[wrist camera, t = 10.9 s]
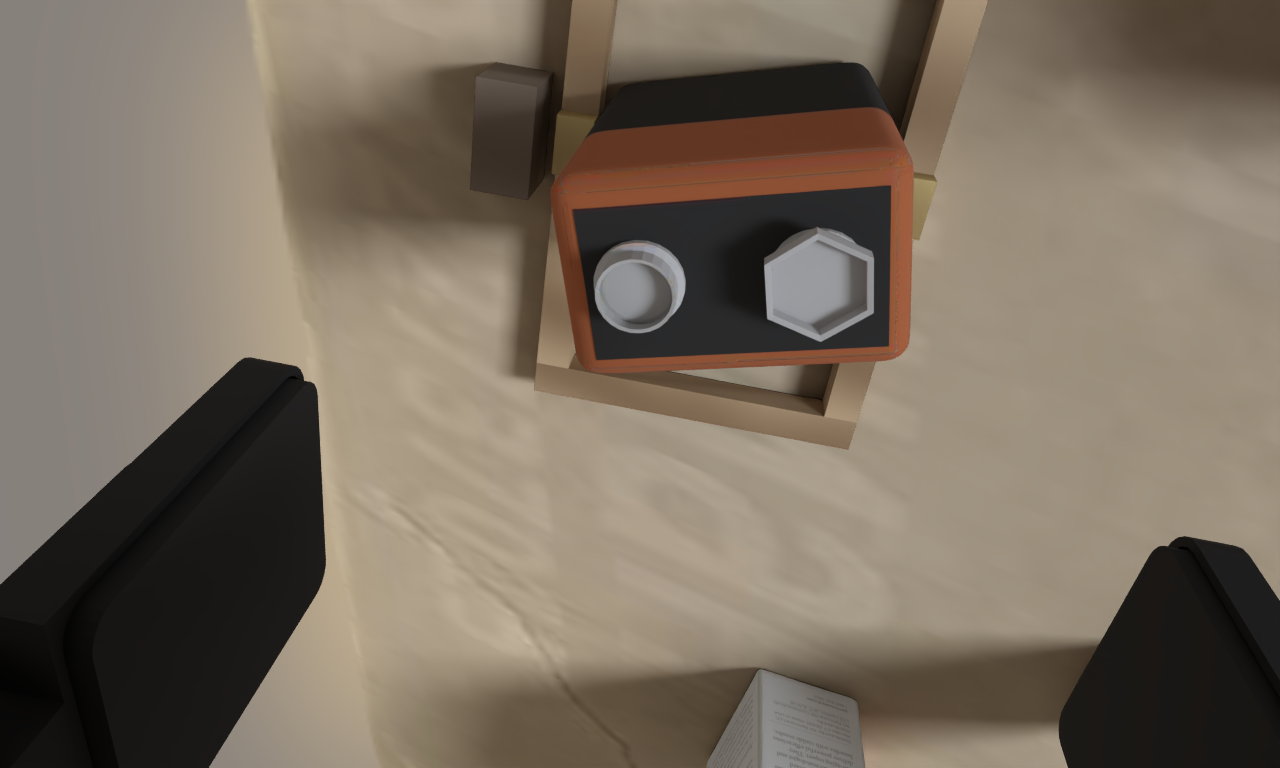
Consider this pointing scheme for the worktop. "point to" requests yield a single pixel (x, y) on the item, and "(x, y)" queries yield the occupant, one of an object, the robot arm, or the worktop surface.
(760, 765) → the skincare box
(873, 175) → the battery
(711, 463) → the worktop surface
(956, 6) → the track
